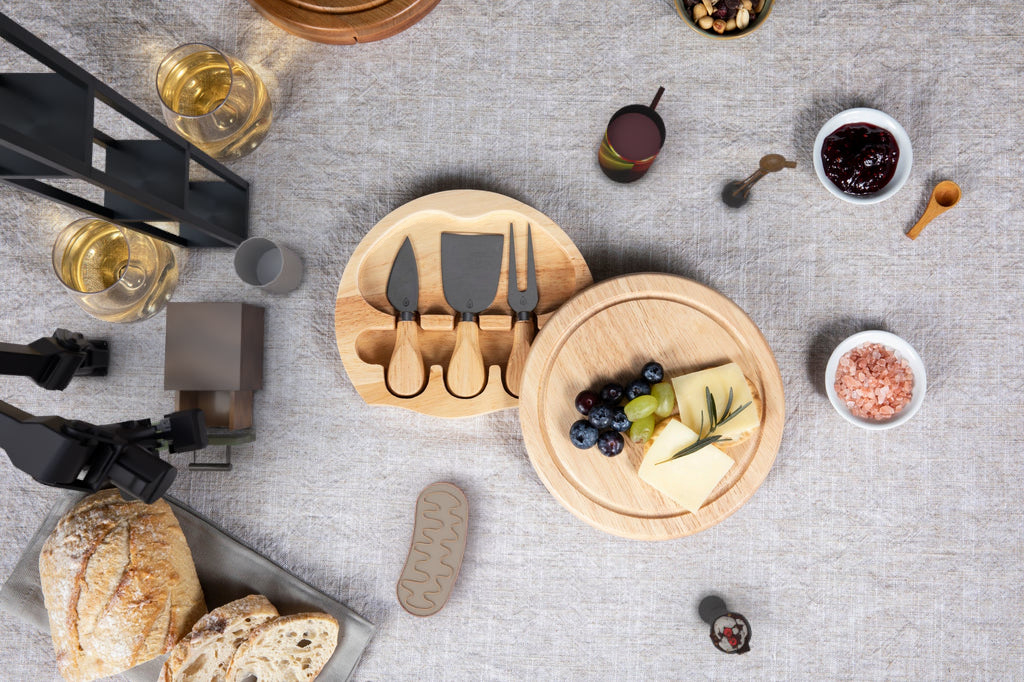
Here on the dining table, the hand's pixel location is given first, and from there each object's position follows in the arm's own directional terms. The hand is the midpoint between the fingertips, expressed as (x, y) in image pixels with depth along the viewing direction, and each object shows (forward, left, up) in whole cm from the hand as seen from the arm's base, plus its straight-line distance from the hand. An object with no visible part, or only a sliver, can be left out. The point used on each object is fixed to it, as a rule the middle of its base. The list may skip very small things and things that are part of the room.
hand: (171, 434), depth 107 cm
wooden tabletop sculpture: (+95, +42, -11) cm, 105 cm away
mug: (+75, +51, -11) cm, 92 cm away
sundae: (+90, -31, -11) cm, 96 cm away
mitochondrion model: (+42, -20, -11) cm, 48 cm away
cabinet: (+4, +14, -11) cm, 19 cm away
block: (0, 0, -1) cm, 1 cm away
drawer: (+4, +2, -10) cm, 11 cm away
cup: (+13, +28, -11) cm, 33 cm away
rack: (+1, +38, -11) cm, 40 cm away
